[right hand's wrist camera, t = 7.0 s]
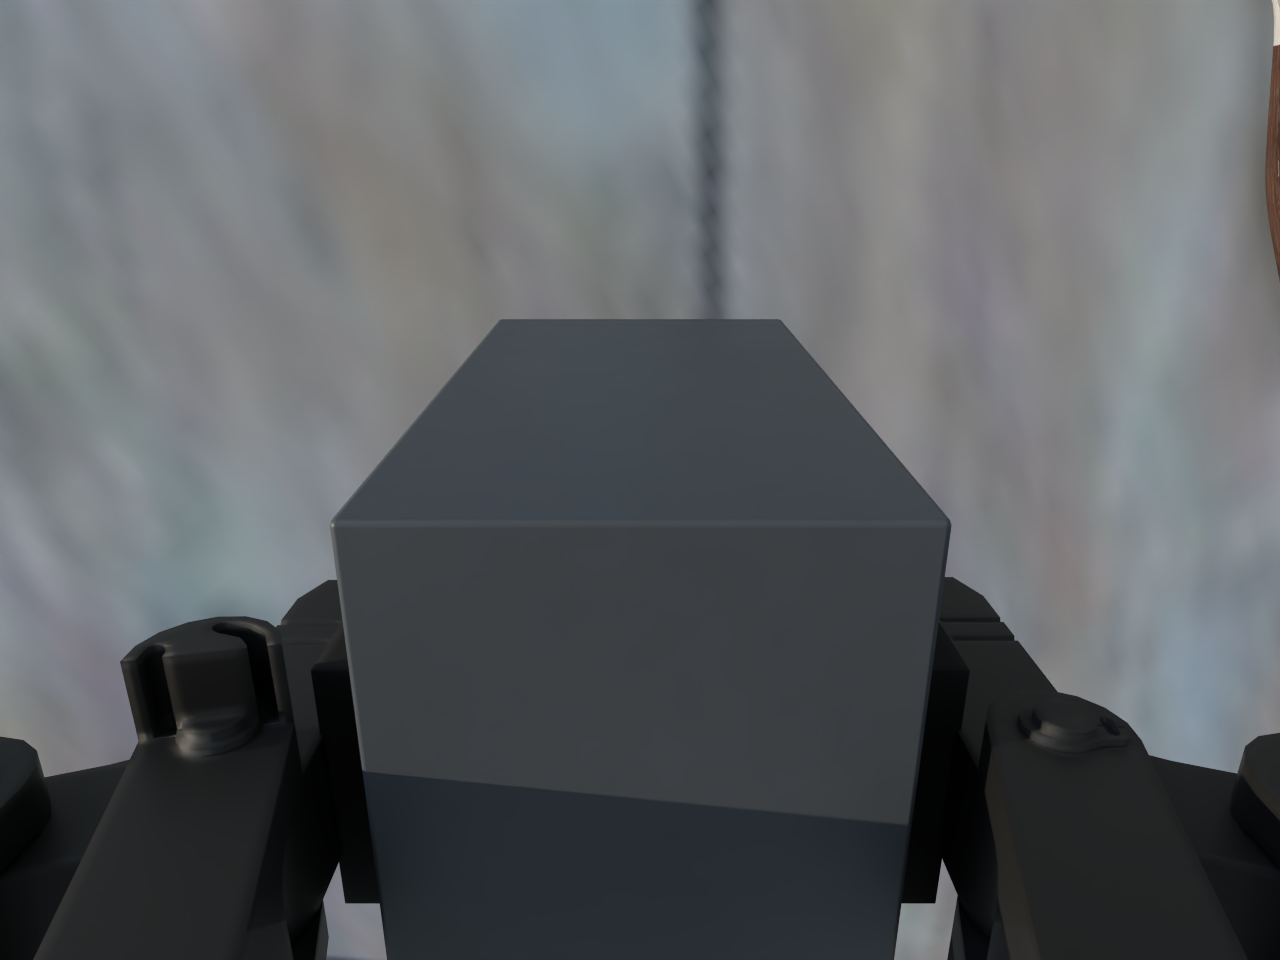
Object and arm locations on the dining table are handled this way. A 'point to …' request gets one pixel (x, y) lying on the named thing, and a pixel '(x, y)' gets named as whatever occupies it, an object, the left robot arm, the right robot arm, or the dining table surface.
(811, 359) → the bar
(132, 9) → the dining table surface
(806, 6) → the dining table surface
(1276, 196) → the fork
